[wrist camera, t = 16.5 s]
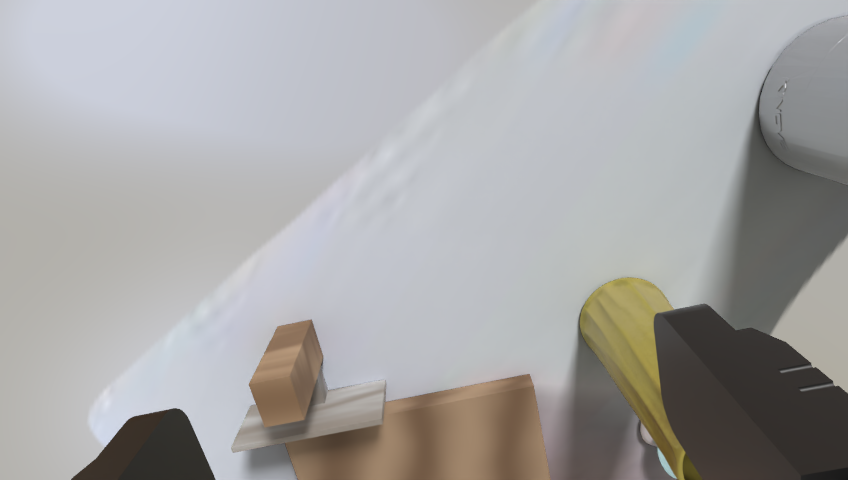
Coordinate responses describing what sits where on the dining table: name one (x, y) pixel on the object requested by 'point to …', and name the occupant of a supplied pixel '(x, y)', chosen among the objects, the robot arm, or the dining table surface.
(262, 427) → the wooden stamp block
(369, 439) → the board
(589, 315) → the vase
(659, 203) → the dining table surface
